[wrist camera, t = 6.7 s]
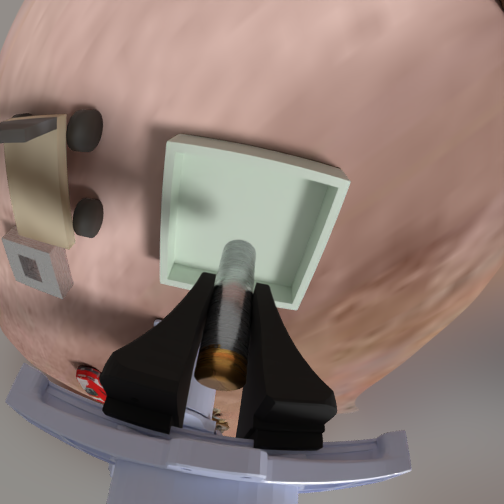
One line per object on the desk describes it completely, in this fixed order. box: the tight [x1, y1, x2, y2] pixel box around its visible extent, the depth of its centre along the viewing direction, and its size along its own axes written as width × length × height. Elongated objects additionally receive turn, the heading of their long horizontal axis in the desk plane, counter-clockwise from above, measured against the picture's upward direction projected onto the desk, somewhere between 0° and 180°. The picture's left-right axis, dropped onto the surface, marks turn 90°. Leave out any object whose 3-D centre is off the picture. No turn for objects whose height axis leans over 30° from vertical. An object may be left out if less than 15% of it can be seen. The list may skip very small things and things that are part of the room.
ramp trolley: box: [0, 110, 103, 249], centre depth 15 cm, size 10×9×7 cm
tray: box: [160, 134, 351, 310], centre depth 19 cm, size 11×11×2 cm
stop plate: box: [2, 226, 73, 299], centre depth 22 cm, size 6×8×2 cm
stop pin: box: [194, 240, 256, 391], centre depth 13 cm, size 2×2×8 cm
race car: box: [76, 366, 107, 403], centre depth 38 cm, size 13×5×4 cm, turn 14°
